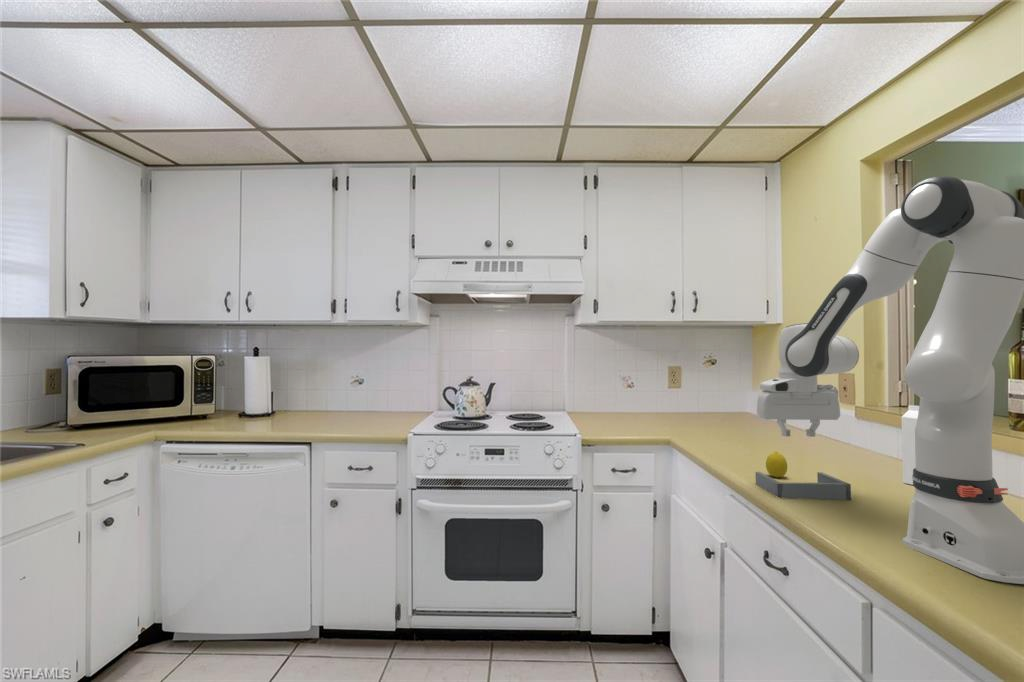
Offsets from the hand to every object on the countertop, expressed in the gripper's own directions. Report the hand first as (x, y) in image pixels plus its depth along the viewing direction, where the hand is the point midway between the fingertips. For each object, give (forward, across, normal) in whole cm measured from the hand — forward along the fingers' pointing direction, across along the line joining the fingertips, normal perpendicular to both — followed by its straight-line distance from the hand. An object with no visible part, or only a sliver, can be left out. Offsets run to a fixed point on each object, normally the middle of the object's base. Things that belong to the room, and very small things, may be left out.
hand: (798, 436), depth 127 cm
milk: (+15, -38, -8) cm, 42 cm away
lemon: (+15, -1, -13) cm, 20 cm away
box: (+15, 0, +1) cm, 15 cm away
